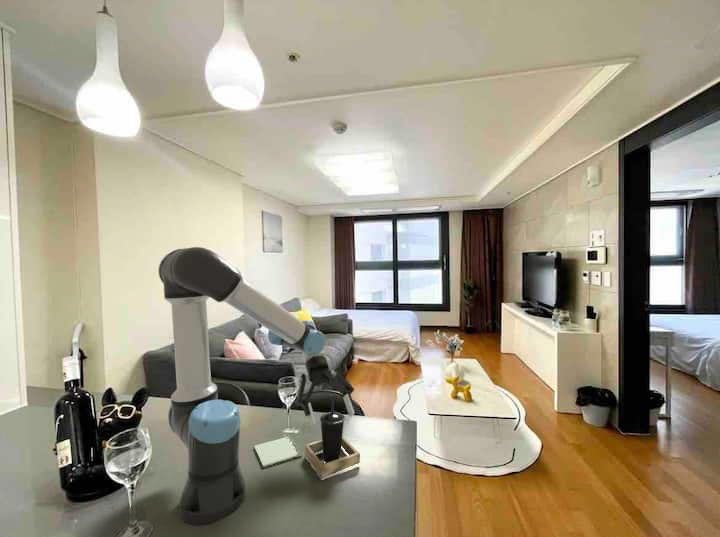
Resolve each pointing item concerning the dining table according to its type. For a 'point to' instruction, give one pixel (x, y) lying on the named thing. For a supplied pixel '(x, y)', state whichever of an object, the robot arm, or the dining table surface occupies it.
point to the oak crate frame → (334, 465)
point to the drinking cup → (332, 434)
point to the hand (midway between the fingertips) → (333, 420)
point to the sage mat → (275, 451)
